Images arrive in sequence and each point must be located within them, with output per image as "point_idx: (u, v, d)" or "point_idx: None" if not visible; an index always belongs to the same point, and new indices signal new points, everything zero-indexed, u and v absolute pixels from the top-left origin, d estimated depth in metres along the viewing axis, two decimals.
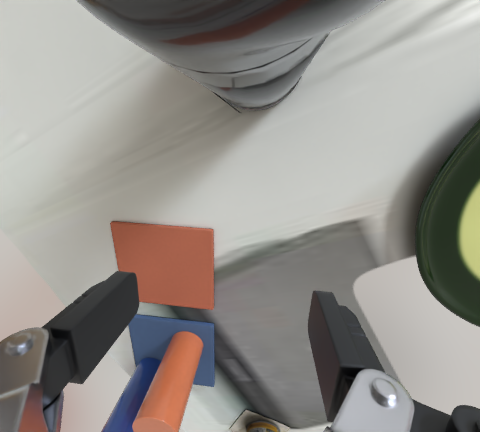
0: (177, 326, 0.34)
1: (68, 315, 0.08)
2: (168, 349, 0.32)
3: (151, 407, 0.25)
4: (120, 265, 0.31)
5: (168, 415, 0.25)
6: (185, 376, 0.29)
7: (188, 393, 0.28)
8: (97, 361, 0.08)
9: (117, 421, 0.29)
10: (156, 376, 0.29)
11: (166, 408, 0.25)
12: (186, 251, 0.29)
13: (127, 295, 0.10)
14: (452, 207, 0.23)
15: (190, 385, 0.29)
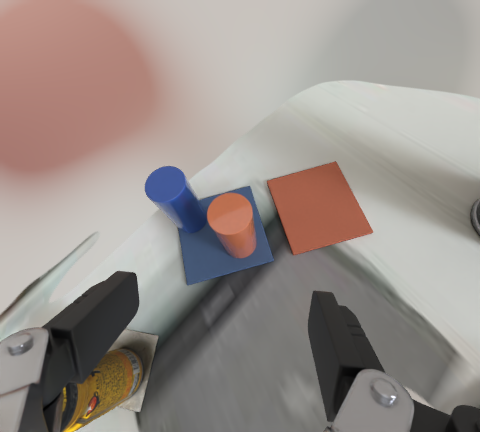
0: (257, 228, 0.36)
1: (68, 315, 0.08)
2: None
3: None
4: (301, 173, 0.39)
5: (251, 221, 0.25)
6: (252, 238, 0.29)
7: (242, 243, 0.28)
8: (97, 361, 0.08)
9: (190, 185, 0.30)
10: None
11: (252, 219, 0.26)
12: (343, 217, 0.35)
13: (127, 295, 0.10)
14: None
15: (244, 244, 0.29)
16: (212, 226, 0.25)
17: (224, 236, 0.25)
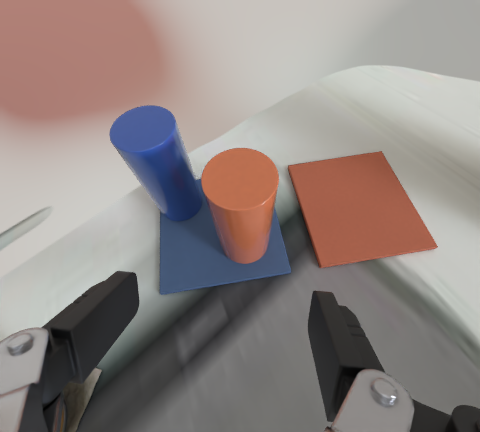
0: None
1: (68, 315, 0.08)
2: None
3: None
4: (335, 161, 0.29)
5: (274, 196, 0.15)
6: (267, 230, 0.19)
7: (252, 235, 0.17)
8: (97, 361, 0.08)
9: None
10: None
11: (276, 194, 0.16)
12: (393, 223, 0.25)
13: (127, 295, 0.10)
14: None
15: (254, 238, 0.18)
16: (208, 194, 0.15)
17: (226, 214, 0.15)
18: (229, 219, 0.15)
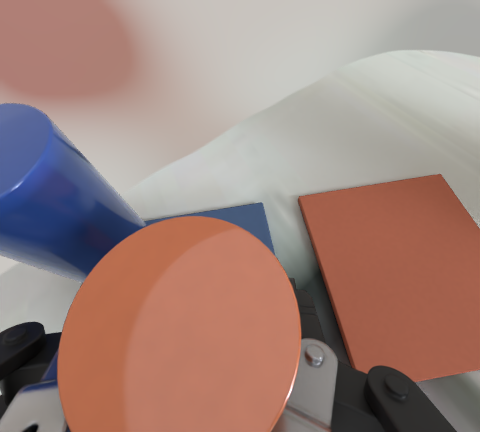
0: None
1: None
2: None
3: None
4: (371, 189, 0.19)
5: None
6: None
7: None
8: None
9: (93, 177, 0.10)
10: None
11: None
12: (479, 302, 0.15)
13: None
14: None
15: None
16: (67, 398, 0.04)
17: None
18: None
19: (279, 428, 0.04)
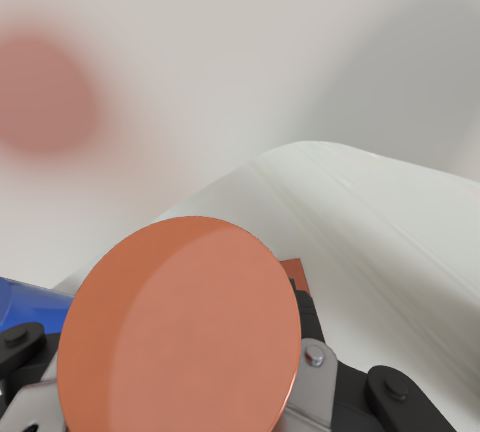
0: None
1: None
2: None
3: None
4: None
5: None
6: None
7: None
8: None
9: (37, 305, 0.18)
10: None
11: None
12: None
13: None
14: None
15: None
16: (66, 399, 0.04)
17: None
18: None
19: (279, 428, 0.04)
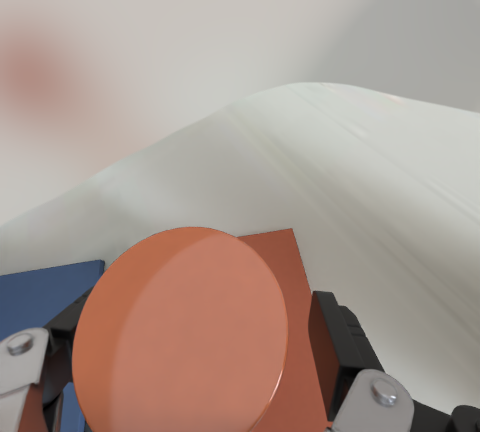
0: None
1: (68, 315, 0.08)
2: None
3: None
4: None
5: None
6: None
7: None
8: None
9: None
10: None
11: None
12: (283, 383, 0.14)
13: None
14: None
15: None
16: (81, 391, 0.05)
17: None
18: None
19: None
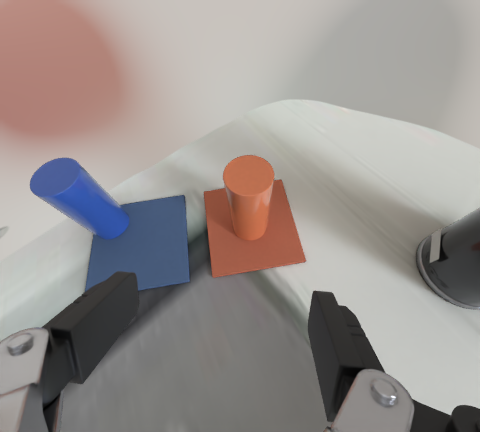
0: (180, 242, 0.32)
1: (68, 315, 0.08)
2: None
3: None
4: None
5: (271, 187, 0.23)
6: (266, 212, 0.26)
7: (256, 215, 0.25)
8: (97, 361, 0.08)
9: (93, 183, 0.26)
10: None
11: (272, 186, 0.23)
12: (275, 241, 0.31)
13: (127, 295, 0.10)
14: None
15: (258, 217, 0.26)
16: (228, 186, 0.22)
17: (240, 199, 0.22)
18: (241, 202, 0.23)
19: None
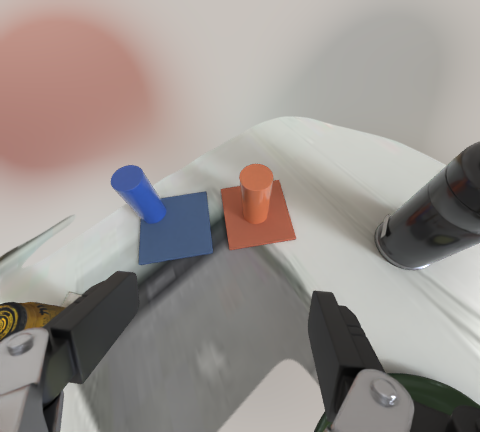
0: (205, 225, 0.44)
1: (68, 315, 0.08)
2: None
3: None
4: None
5: (271, 185, 0.35)
6: (268, 202, 0.38)
7: (261, 204, 0.37)
8: (97, 361, 0.08)
9: (149, 182, 0.38)
10: None
11: None
12: (274, 224, 0.43)
13: (126, 295, 0.10)
14: None
15: (262, 206, 0.38)
16: (243, 184, 0.34)
17: (250, 193, 0.34)
18: (251, 195, 0.35)
19: None
